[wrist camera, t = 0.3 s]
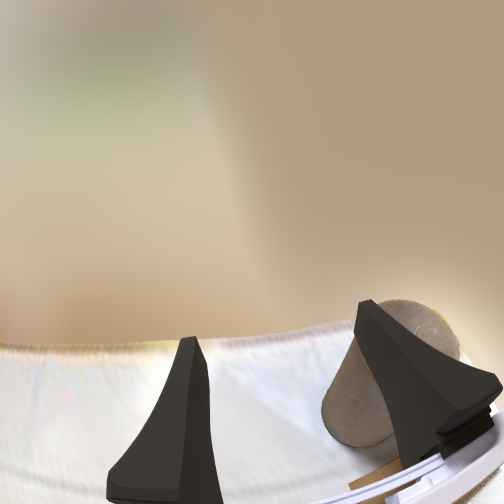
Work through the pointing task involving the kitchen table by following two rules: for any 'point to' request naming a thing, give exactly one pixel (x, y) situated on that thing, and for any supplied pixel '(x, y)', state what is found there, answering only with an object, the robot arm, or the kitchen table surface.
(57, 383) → the kitchen table surface
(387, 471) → the cleat plank
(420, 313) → the pillar candle
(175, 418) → the robot arm
